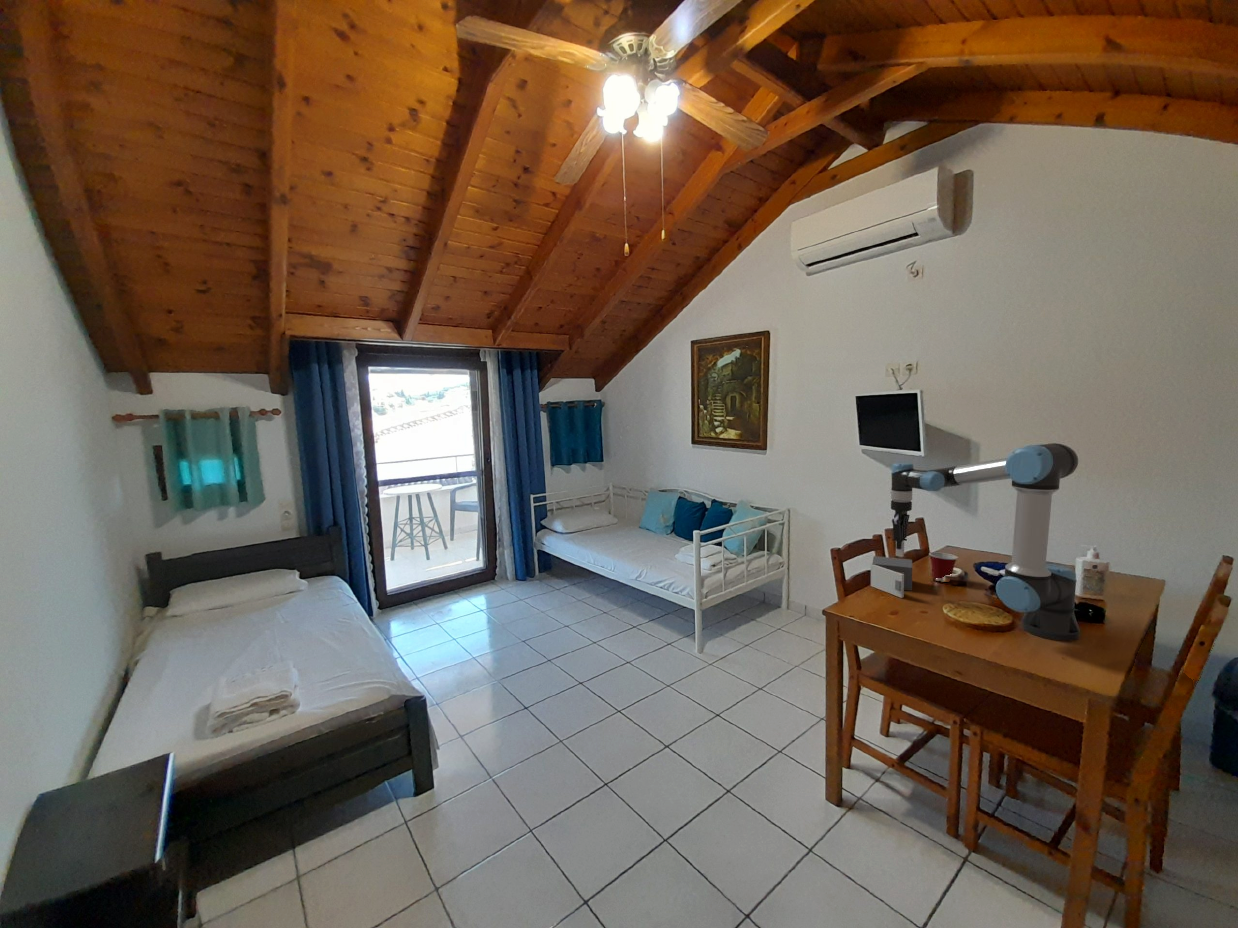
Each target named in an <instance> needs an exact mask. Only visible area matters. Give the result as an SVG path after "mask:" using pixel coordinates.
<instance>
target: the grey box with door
mask: <svg viewBox="0 0 1238 928" xmlns="http://www.w3.org/2000/svg"><path fill="white" fill-rule="evenodd" d="M871 564H874V565H877V566H880V567H883V568H886V569H889V570H892V571H895V572H898V573H901V574H904V591H911V592H912V591H913V559H908V558H899V557H898V558H897V557H888V556H887V557H886V556H879V555H878V556H876V555H873V557H872V563H871Z"/></svg>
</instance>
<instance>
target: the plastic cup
mask: <svg viewBox="0 0 1238 928" xmlns="http://www.w3.org/2000/svg"><path fill="white" fill-rule="evenodd" d="M928 555H929V558H930V561H931V570H932V575H933V579H936V578H942V577H944V576H945V575H950V574H952V575H953V572H954V571H953V570H954V568H955V564H956V562H957V560H958V559H959V557H958V556H957V555H955V554H951V553H946V552H938V551H931V552H929V553H928Z"/></svg>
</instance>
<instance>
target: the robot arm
mask: <svg viewBox="0 0 1238 928" xmlns="http://www.w3.org/2000/svg"><path fill="white" fill-rule="evenodd" d="M1078 465H1079V457H1078V455H1077V452H1075V450H1074V449H1073V448H1072V447H1070V446H1068V445H1065V444H1062V443H1056V442H1053V443H1045V444H1030V445H1026V446H1023V447H1019V448H1017V449H1014V451H1012V452H1011V453H1010V454H1008V456H1007V457H1003V458H997V459H991V460H986V461H980V462H973V463H968V464H963V465H956V466H949V467H945V468H937V469H936V468H935V469H928V470H924V469H917V468H916V469H915V468H914V465H913V463H910V462H895V463H894V462H893V464H892V466H891V467H892V468H891V472H890V473H891V488H890V489H891V490H890V492H889V493H890V495H891V496H890V499H891V501H890V509H891V510H893V511H894V515H893V517H894V518H892V520H891V523H892V531H893V541H895V556H896V557H898V558H899V557H900V558H903V557H904V556H905V541H908V539H907V537H908V527H909V520H910V516H911V515H910V514H908V512H910V511H912V509H913V501H912V500H913V489H917V490H923V491H927V492H938V491H941V489H943V488H949V487H957V486H962V485H963V486H965V485H971V484H977V483H978V484H979V483H988V482H995V481H1003V480H1011V487H1012V488H1013V489H1014V490H1015V491H1016V502H1015V513H1014V514H1015V515H1014V524H1013V525H1014V527H1013V536H1012V537H1013V540H1012V541H1013V542H1012V550H1011V562H1009V563H1006V564H1005V567H1004V569H1005V570H1004V575H1003V576H1002V577H1001V578H999V580H998V581H997V583H996V585H995V591H996V595H997V597H998V599H999V600H1000V601H1001V602H1002V603H1003V604H1004V606H1006V607H1007V608H1009V609H1011V610H1012V611H1015V612H1018V613H1024V614H1023V615H1022V616H1021V621H1020V626H1021V628H1022V629H1023V630H1024V631H1026V632H1027V633H1029V634H1031V635H1034V636H1038V637H1039V638H1044V639H1049V640H1051V641H1059V642H1060V641H1061V642H1075V641H1078V640H1079V639H1080V638H1081V628H1080V626H1079V623H1078V622H1077V619H1076V615H1075V603H1076V602H1075V601H1076V599H1075V598H1076V588H1077V574H1076V572H1075V570H1074V569H1071V568H1069V567H1066V566H1064V565H1058V564H1053V563H1047V555H1048V554H1047V553H1048V542H1049V532H1050V530H1049V529H1050V521H1051V509H1052V498H1053V494H1054V493H1056V492H1057V491H1058V490H1059V489H1060V483H1061V482H1060V481H1061V479H1064V478H1068V476H1071V475H1072V474H1074V473H1075V471H1076V470H1077V468H1078ZM904 558H905V557H904Z"/></svg>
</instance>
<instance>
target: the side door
mask: <svg viewBox="0 0 1238 928" xmlns="http://www.w3.org/2000/svg"><path fill="white" fill-rule="evenodd" d="M870 587H872V588H874V589H877V590H880V591H882V592H885V593H888V594H891V595H893V596H896V597H899V598H900V599H903V598H904V595H905V594H904V592H905V590H904V574H901V573H898V572H895V571H892V570H889V569H886V568H883V567H880V566H877V565H874V564H872V563H870Z"/></svg>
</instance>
